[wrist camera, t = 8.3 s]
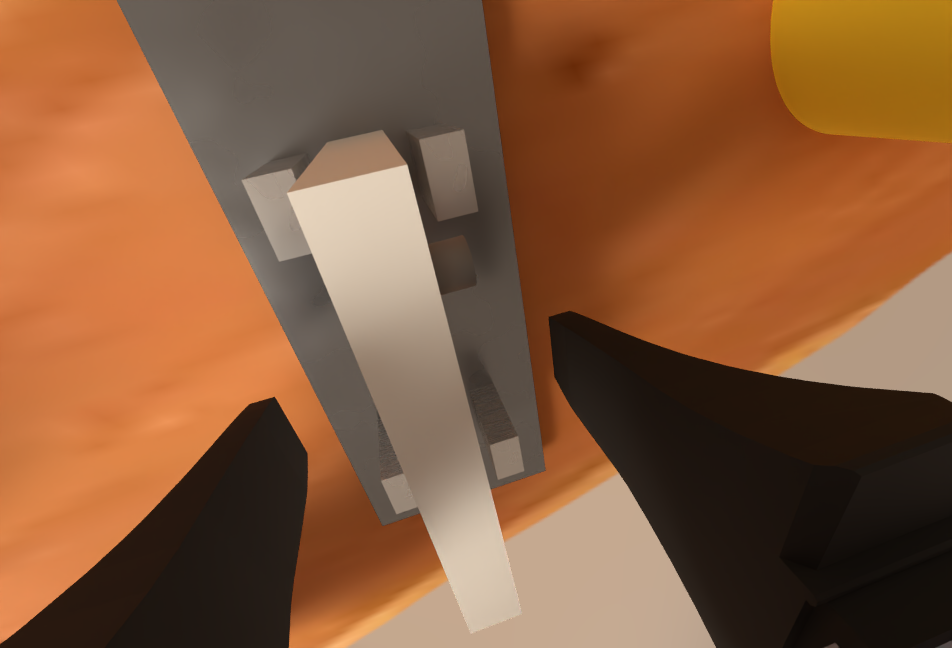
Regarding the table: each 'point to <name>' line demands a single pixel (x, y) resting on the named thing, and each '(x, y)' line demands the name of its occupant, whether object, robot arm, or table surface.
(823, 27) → the tape roll
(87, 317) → the table surface
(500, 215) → the rail
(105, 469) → the table surface
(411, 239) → the cabinet door
